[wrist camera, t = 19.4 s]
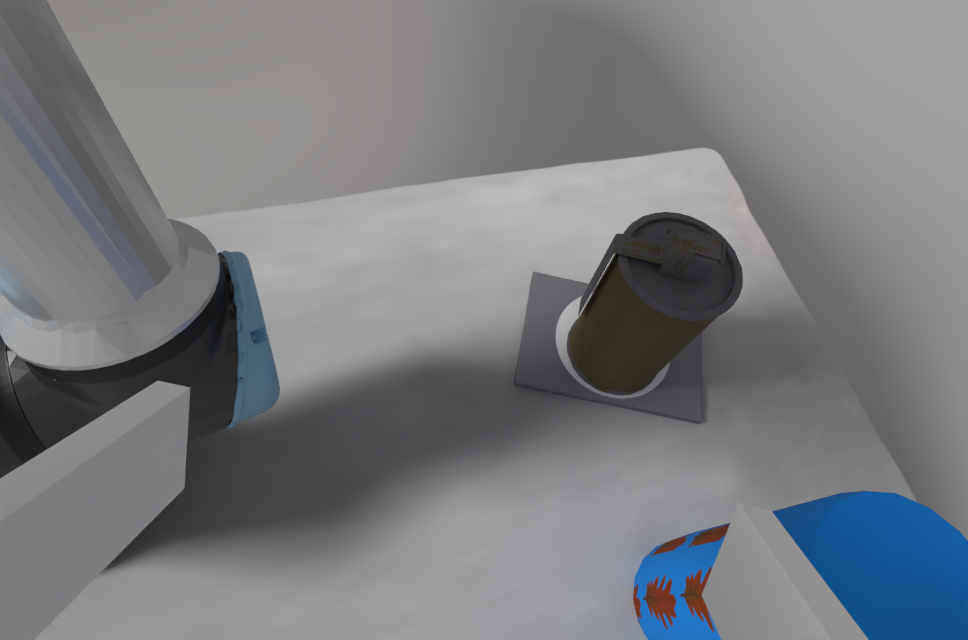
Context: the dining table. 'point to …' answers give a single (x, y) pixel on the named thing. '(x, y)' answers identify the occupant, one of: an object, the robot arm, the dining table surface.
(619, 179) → the dining table surface
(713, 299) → the canister
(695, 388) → the circle mat
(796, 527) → the thermos
